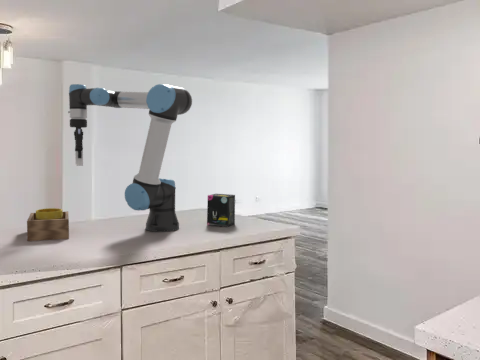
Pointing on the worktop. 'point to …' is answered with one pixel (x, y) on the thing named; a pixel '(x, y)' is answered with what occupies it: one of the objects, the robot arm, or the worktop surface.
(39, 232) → the open wooden box
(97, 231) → the worktop surface
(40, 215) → the plant pot
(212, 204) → the tampon box
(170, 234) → the worktop surface
